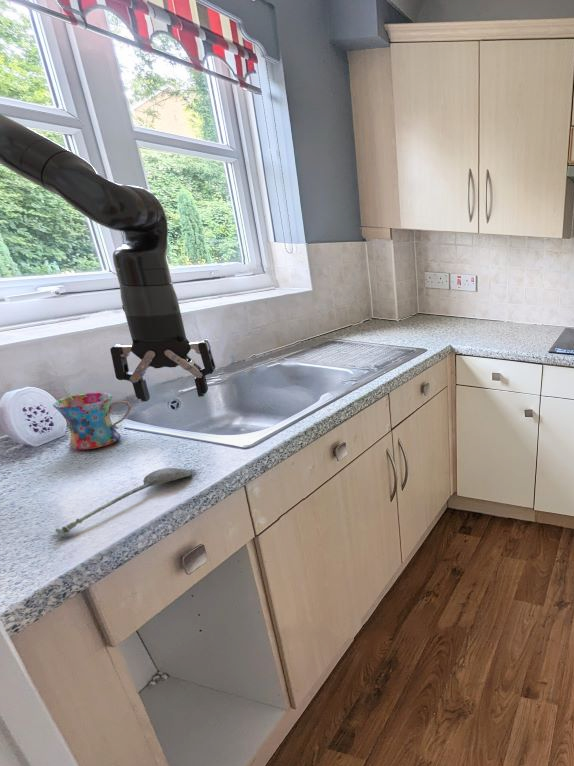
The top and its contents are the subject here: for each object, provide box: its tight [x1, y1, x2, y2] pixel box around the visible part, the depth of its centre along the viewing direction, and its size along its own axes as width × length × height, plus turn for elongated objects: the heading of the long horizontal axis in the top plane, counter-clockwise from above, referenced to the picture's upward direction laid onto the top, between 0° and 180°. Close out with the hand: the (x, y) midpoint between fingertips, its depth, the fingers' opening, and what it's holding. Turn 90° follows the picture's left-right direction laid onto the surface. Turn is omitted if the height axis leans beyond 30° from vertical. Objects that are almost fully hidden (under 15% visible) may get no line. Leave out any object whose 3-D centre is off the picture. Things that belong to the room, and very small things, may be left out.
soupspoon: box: [55, 467, 192, 538], centre depth 81 cm, size 22×3×7 cm
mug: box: [52, 392, 132, 450], centre depth 101 cm, size 12×9×11 cm
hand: (174, 397), depth 84 cm, fingers open, 8 cm apart
